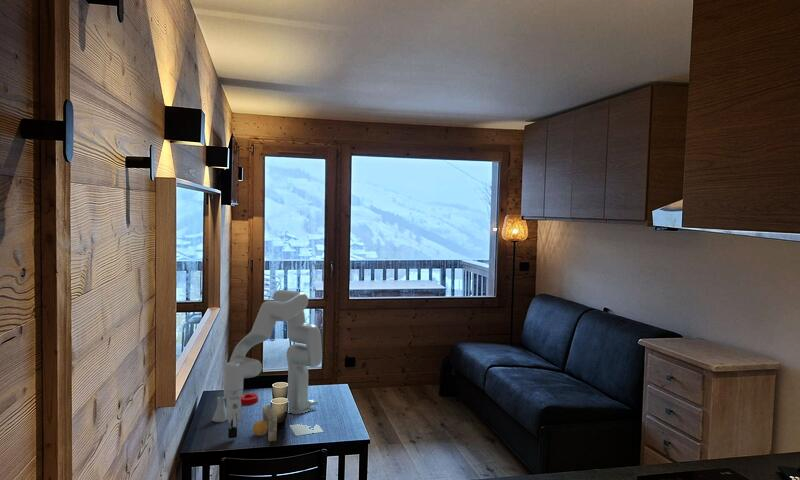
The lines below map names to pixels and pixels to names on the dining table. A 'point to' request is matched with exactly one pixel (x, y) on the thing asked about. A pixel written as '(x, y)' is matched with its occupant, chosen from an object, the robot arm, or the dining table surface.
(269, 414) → the bridge
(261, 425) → the ball
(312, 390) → the dining table surface
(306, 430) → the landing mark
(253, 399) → the decorative ornament
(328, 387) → the dining table surface
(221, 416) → the flask
